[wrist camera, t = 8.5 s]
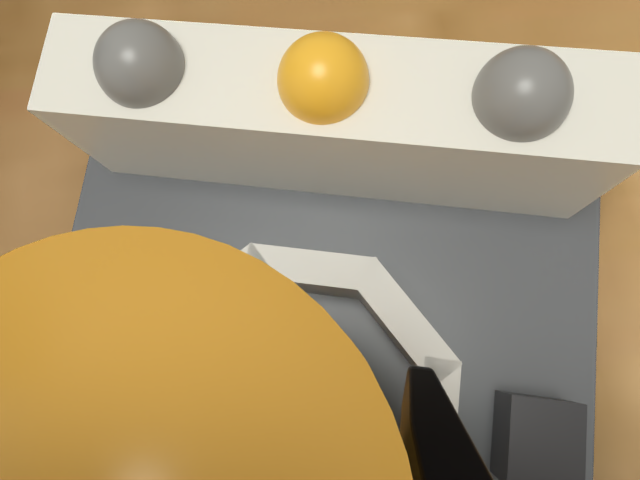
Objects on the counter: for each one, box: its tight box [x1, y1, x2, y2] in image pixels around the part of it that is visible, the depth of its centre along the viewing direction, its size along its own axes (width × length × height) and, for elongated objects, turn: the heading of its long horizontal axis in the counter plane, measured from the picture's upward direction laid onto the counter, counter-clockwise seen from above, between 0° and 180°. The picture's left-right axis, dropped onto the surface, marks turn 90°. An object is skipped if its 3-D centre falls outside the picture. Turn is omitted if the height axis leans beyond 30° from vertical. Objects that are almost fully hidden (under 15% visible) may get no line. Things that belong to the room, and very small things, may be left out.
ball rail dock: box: [27, 13, 640, 480], centre depth 15 cm, size 15×18×8 cm
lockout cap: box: [0, 225, 413, 480], centre depth 10 cm, size 5×5×12 cm
